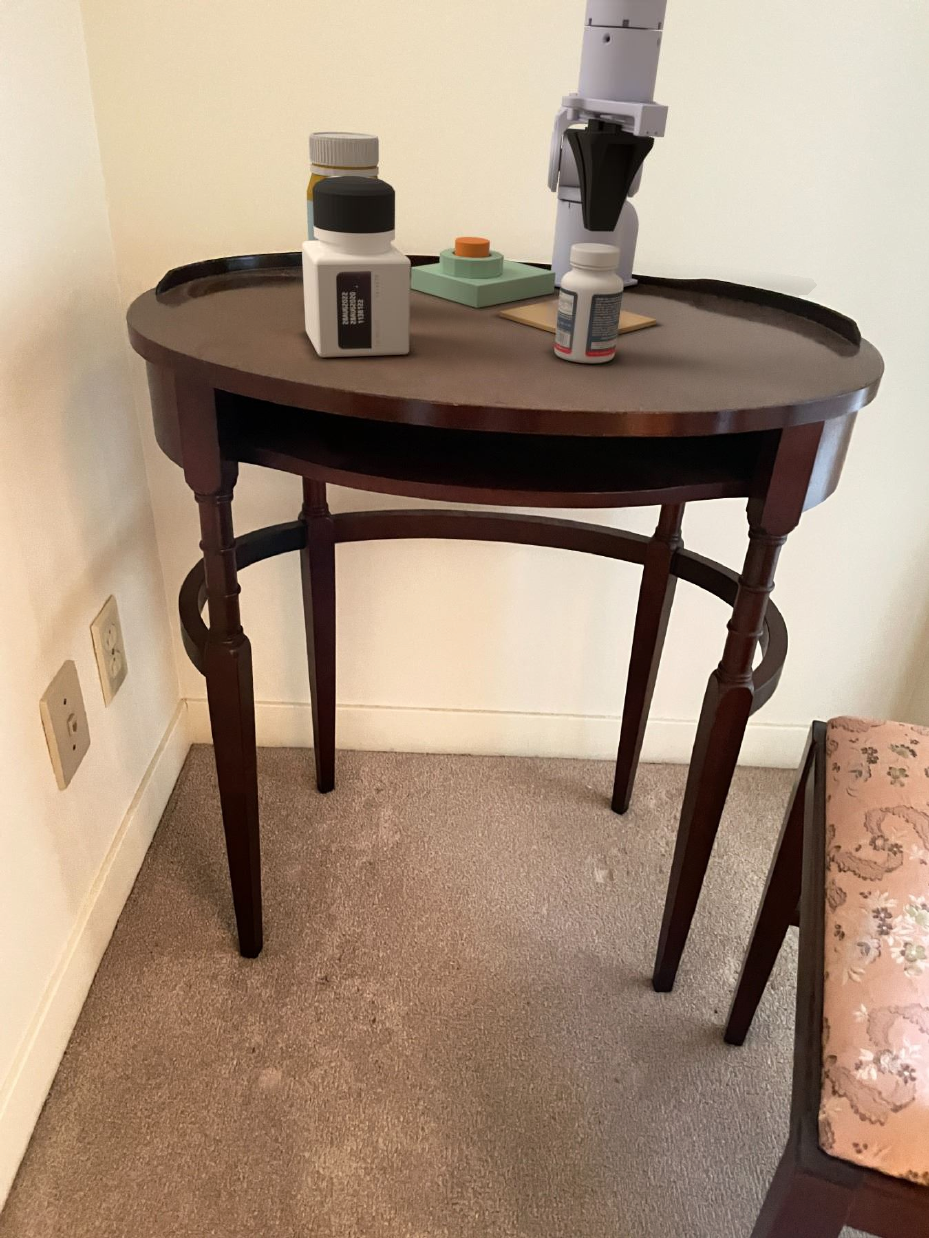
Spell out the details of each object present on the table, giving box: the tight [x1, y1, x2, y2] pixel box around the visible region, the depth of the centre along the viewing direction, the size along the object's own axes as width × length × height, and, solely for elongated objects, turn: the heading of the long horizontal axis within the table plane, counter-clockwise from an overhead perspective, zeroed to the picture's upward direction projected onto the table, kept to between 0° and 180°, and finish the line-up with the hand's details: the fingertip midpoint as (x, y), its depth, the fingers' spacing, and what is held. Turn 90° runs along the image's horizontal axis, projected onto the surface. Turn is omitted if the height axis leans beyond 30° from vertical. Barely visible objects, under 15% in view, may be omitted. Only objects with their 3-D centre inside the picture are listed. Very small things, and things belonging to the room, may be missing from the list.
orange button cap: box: [454, 236, 491, 258], centre depth 93 cm, size 4×4×2 cm
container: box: [301, 176, 412, 358], centre depth 74 cm, size 8×8×13 cm
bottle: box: [306, 131, 380, 241], centre depth 83 cm, size 7×7×15 cm
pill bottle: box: [553, 243, 624, 364], centre depth 76 cm, size 5×5×9 cm
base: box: [410, 247, 556, 309], centre depth 96 cm, size 12×10×4 cm
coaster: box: [498, 298, 657, 335], centre depth 88 cm, size 11×11×1 cm
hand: (598, 230), depth 72 cm, fingers closed
